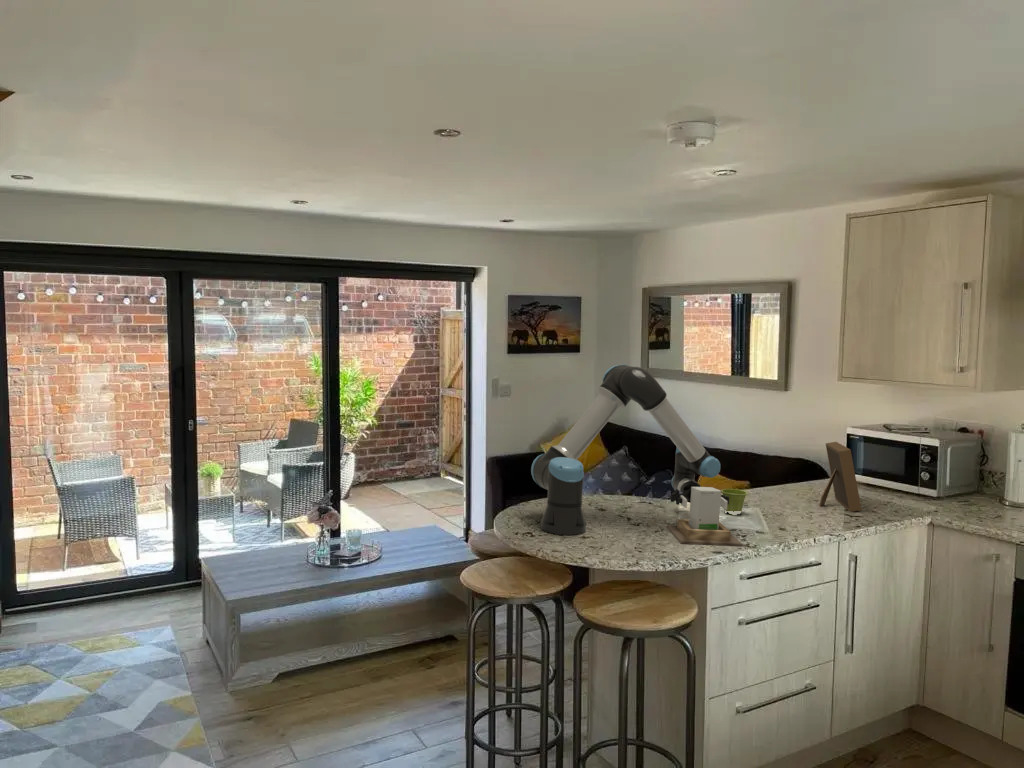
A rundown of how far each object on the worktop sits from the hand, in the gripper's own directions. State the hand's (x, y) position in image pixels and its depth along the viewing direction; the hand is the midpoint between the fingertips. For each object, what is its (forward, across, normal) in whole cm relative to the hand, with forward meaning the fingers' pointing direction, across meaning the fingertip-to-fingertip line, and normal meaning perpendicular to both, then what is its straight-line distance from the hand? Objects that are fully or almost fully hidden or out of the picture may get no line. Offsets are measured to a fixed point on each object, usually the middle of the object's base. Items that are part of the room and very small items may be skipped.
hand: (706, 504), depth 252 cm
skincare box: (-1, 0, -10) cm, 10 cm away
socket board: (-1, 0, -11) cm, 11 cm away
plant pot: (-35, -20, -11) cm, 42 cm away
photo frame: (-58, -70, -11) cm, 92 cm away
